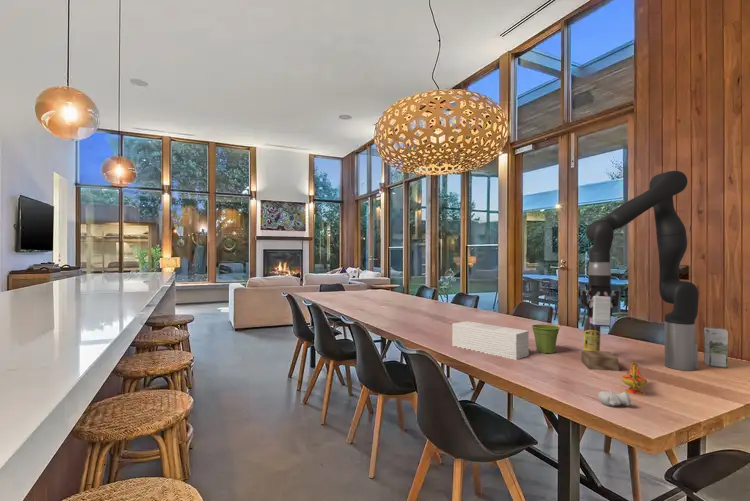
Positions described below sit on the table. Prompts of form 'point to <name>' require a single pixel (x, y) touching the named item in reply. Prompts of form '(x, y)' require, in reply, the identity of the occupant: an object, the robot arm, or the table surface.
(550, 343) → the plant pot
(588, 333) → the sauce bottle
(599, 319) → the supplement box
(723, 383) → the table surface
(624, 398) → the smooth white sculpture
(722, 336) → the syrup box
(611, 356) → the block
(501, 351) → the white textured block
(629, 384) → the magic lamp
